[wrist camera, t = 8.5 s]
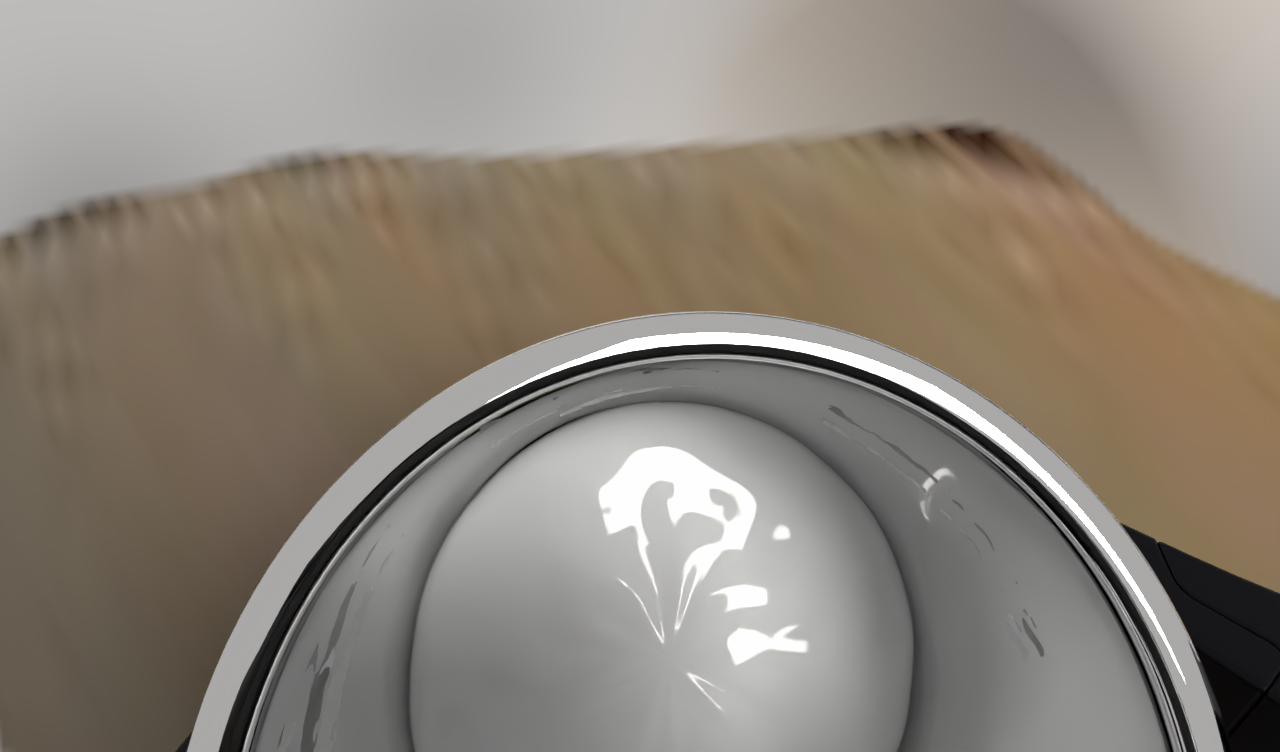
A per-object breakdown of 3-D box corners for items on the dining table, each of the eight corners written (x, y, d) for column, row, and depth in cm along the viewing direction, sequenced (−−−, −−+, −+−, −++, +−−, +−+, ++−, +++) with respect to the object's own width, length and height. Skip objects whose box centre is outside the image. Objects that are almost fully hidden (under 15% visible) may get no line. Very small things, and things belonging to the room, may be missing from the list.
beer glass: (472, 534, 18) (-109, 713, 4) (659, 400, 19) (814, 103, 5) (608, 736, 17) (589, 2099, 3) (795, 585, 18) (1533, 960, 4)
